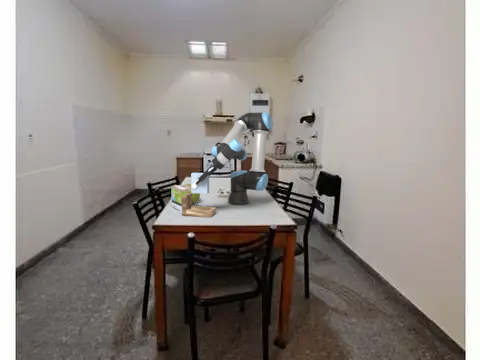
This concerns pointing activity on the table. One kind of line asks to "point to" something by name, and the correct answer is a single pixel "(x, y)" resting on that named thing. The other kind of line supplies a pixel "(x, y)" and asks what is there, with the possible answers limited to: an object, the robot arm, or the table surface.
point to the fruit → (196, 195)
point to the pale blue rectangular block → (203, 186)
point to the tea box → (180, 195)
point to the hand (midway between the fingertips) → (194, 186)
